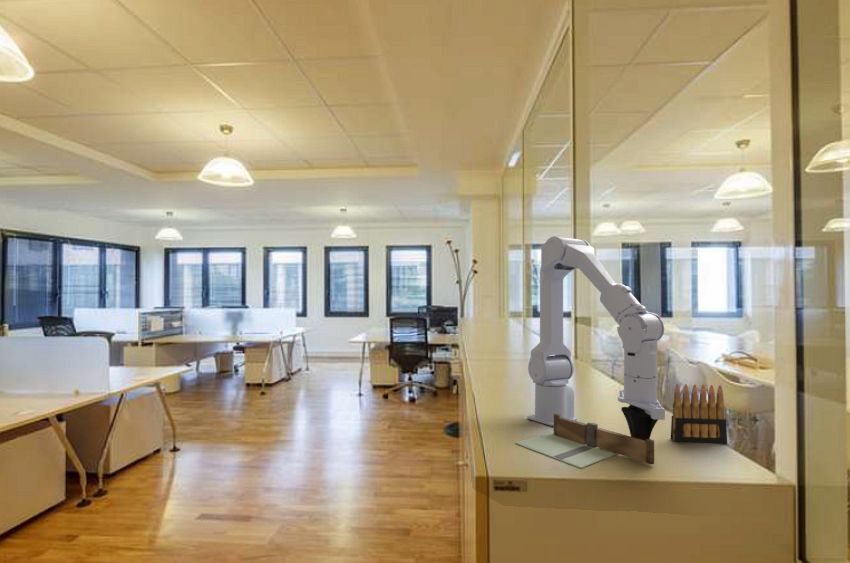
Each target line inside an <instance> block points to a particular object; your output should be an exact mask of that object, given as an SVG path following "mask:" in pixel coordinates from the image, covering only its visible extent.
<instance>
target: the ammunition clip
mask: <svg viewBox="0 0 850 563" xmlns="http://www.w3.org/2000/svg"><path fill="white" fill-rule="evenodd" d="M689 390H690V389H689V386H688V384H687V383H686V384H684V387H683V391H682V392H681V388H680V386H679V384H678V383H676V384H675V388H674V392H673V394H674V395H673V402H672V415H671V423H670V440H671V441H672V442H674V443H676V442H677V443H679V444H680V443H681V444H683V443H684V444H706V445H707V444H709V445H711V444H712V445H727V444H728V431H727V430H728V428H727V419H726V417H725V416H726V413H725V412H726V406H725V403H724V402H725V401H724V400H725V399H724V391H723V387H722V386H721V384H720V385H718V387H717V392H716V393H715V389H714V386H713V384H710V386H709V389H708V392H707V389H706V387H705V385H704V384H702V385H701V386H700V391H699V393H698V387H697V386H696V384H693V386H692V388H691V397H690V391H689ZM681 393H682V396H681ZM707 393H708V394H707ZM698 394H699V395H698ZM681 397H682V398H681Z"/></svg>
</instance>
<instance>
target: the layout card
mask: <svg viewBox="0 0 850 563" xmlns="http://www.w3.org/2000/svg"><path fill="white" fill-rule="evenodd" d="M514 444H515V445H518V446H520V447H523V448H526V449H527V450H528V449H529V450H531V451H533V452H537V453H539V454H541V455H544V456H547V457H549V458H553V459H555V460H557V461H560V462H562V463H566V464H569V465H570V466H573V467H576V468H579V469H584V468H587V467H589V466H592V465H594V464H596V463H599V462H601V461H604V460H607V459H608V458H612V457H613V456H617V455H618V454H617V453H614V452H611V451H608V450H605V449H601V448H598V447H596V448H592V447H588V446H587V444H582V443H579V442H576V441H573V440H570V439H567V438H564V437H561V436H557V435H554V430H553V431H550V432H547V433H542V434H540V435H537V436H533V437H529V438H526V439H523V440H519V441H515V443H514Z"/></svg>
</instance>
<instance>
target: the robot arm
mask: <svg viewBox="0 0 850 563" xmlns="http://www.w3.org/2000/svg"><path fill="white" fill-rule="evenodd" d="M540 249H541V250H540V253H541V255H540V257H541V258H540V259H541V260H540V264H541V265H540V269H539V343H537V345H535V347H534V348H532V349H531V350H530V359H529V361H528V365H527V371H528V374H529V377H530V379H531V380H532V383H534V385H535V386H534V414H531V415H528V416H526V419H527V420H531V421H534V422H537V423H540V424H544V425H546V426H551V427H554V414H560V415H561V417H563V418H567V419H570V420H574V421H578V417H576V416H575V392H574V389H573V387H572V386H571V385H570V383H569V380H571V378H572V377H573V374H574V370H575V369H574V363H573V361H572V356H571V350H570V349H569V348H568V347H567V346H566V344H564V279H565V277H566V276H567V275H569V273H572V272H573V271H575V270H576V269H579V271H581V273H582V274H583V275H584V276H585V277H586V278H587V279H588V281H590V283H592V285H593V286H594V287H595V288H596V290H598V291H599V293H600V296H599V301H600V303H601V304H602V306H603V307H604V308H605V309H606V310H607V312H608V313H609V315H610V316H611V317H612V318H613V320H614V321H615V322H616V324H617V325H618V326H617V327H616V330H617V334H618V337H619V338H620V339H621V342H622V349H623V351H624V352H623V354H624V355H623V357H624V358H623V362H624V363H623V367H624V368H623V371H624V372H623V390H622V389H620V390H619V395H618V397H617V401H618V402H619V403H622V404H628V406H622V407H621V408H620V409H621V412H622V414H623V416H624V418H625V420H626V422H627V425H628V426H627V427H628V430H629V434H630V435H629V436H630V437H634V438H637V439H641V440H644V441H646V439H651V435H652V432H653V429H654V427H655V426H656V424H657V423H658V421H659V420H662V421H664V420H665V419H666V409H665V408H664V407H663V406H662V405H661V403H660V402H659V400H658V341H660V340H661V339H662V337H663V335H664V334H665V326H664V325H665V324H664V322H663V321H662V319H661V317H660V315H658V314H657V313H654V312H649V311H648V310H647V308H646V306H645V305H643V304H641V303H640V302H639V301H638V299H637V297H635V296H634V295H633V293H632V291H633V290H632V288H631V287H630V286H627V285H624V283H616V282H615V281H614V280H613V278H612V276H611V275H610V274H609V272H608V271H607V270H606V268H605V267H604V266H603V264H602V263H601V261H600V260H599V259H598V257H597V256H596V254H595V248H594V247H593V246H591V245H590V243H589V242H588V241H587V240H586V239H583V238H578V239H577V238H568V237H561V236H557V235H555V236H553V235H552V236H550V237H549V238H548V239H547V240H546V241H545V242H544V243H543V244H542V246H541V248H540Z"/></svg>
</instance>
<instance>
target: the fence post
mask: <svg viewBox="0 0 850 563" xmlns="http://www.w3.org/2000/svg"><path fill="white" fill-rule="evenodd" d="M598 428H599V426H598V424H597V423H596V422H595V423H594V422H587V423H584V422H580V421H578V420H576V421H574V420H570V419H567V418H563V417H561V415H560V414H554V426H553V431H554V435H557V436H561V437H564V438H567V439H570V440H573V441H576V442H579V443H582V444H587V446H588V447H592V448H596V442H597V429H598Z"/></svg>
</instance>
